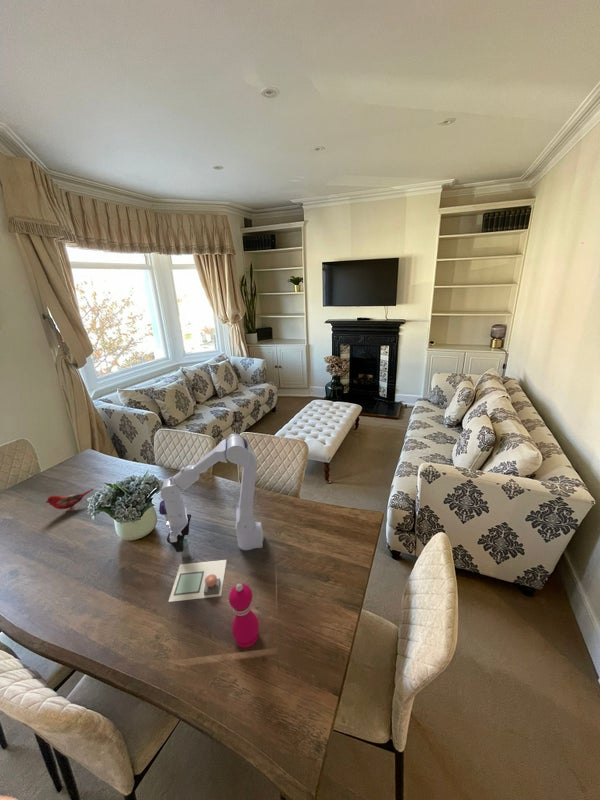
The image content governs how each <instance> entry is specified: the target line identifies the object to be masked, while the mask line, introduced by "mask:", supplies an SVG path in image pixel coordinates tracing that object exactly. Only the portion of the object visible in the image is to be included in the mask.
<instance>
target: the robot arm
mask: <svg viewBox="0 0 600 800" xmlns="http://www.w3.org/2000/svg"><path fill="white" fill-rule="evenodd" d="M226 437H227V438H225V439H222V440H221V441H220V443H218V444H217V445H216V446H215V447H214V448H213V449H211V450H210V451H209V452H208V453H207V454H205V455H204V456H203V457H202V458H201V459H199V460H198V461H197V462H196V463H194V465H192V464H188V465H187V466H182V467H181V468H180V470H179V472H177V473H176V474H174V475H173V476H169V478H166V479H165V480H164V481H163V483H162V487H161V491H160V497H161V499H162V501H163V500H164V501H165V507H166V511H167V515H168V520H169V521H166V523H165V525H166V527H168V526H169V527H168V530H169V529H170V530H169V533H170V535H168V534H167V538H166V542H167V543H168V544H170V545H171V546H172V547H173V548H174V549H175V551H176V553H181V552H183V549H184V544H183V541H184V539H185V536H189V534H190V522H191V519H192V514H188V509H187V507H185V502H184V497H183V495H182V492H184V491H185V490H186V489H188V488H189V487H190V486H191V485H193V484H195V482H197V481H198V480H199V479H200V475H201V473H203V472H205V471H206V470H208V469H209V468H211V467H212V466H214V465H215V464H217V463H218V462H221V463H225V464H227V463H228V461H229V462H230V463H232V464H235V465H238V466H241V467H242V472H241V473H242V474H241V482H240V493H239V499H238V504H237V505H236V507H235V510H234V513H235V522H236V523H235V534H236V538H237V546H238V548H239V549H240V550H241V551H250V550H253V549H258V548H259V549H260V548H261V549H262V548H263V543H264V539H265V538H264V534H263V533H264V532H263V525H262V522H261V521H255V519H254V515H253V512H254V511H253V504H254V502H253V501H254V495H255V487H256V478H257V469H258V459H257V456H256V454H255V452H254V451H253V449H252V447H251V446H250V443H249V442H248V441H249V440H248V439H246V438H245V437H244V436H243V435H241V434H239V433H231V434H229V435H228V436H226Z"/></svg>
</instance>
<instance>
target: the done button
mask: <svg viewBox="0 0 600 800" xmlns="http://www.w3.org/2000/svg"><path fill="white" fill-rule="evenodd" d="M216 583H217V577H216V575H214V574H211V575H209V576H207V577H206V579H205V584H206V586H207V587H213V586H214V585H215V584H216Z"/></svg>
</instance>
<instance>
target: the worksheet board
mask: <svg viewBox="0 0 600 800" xmlns="http://www.w3.org/2000/svg"><path fill="white" fill-rule="evenodd" d="M226 567H227V559H221V560H212V561H209V560H208V561H202V562H192V563H183V564H181V563H180V565H179V567H178V570H177V573H176V577H175V580H174V583H173V586H172V588H171V589H172V590H171V593H170V595H169V598H168V603H172V602H179V601H181V602H182V601H188V600H196V599H197V600H198V599H206V598H207V599H208V598H213V597H214V598H215V597H221V596H222V591H223V586H224V585H223V584H224V578H225V571H226ZM211 574H214V575H216V577H217V583H216V584H215V585H214V586H213V587H207V586H206V584H205V579H206V577H207V576H209V575H211Z"/></svg>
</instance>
